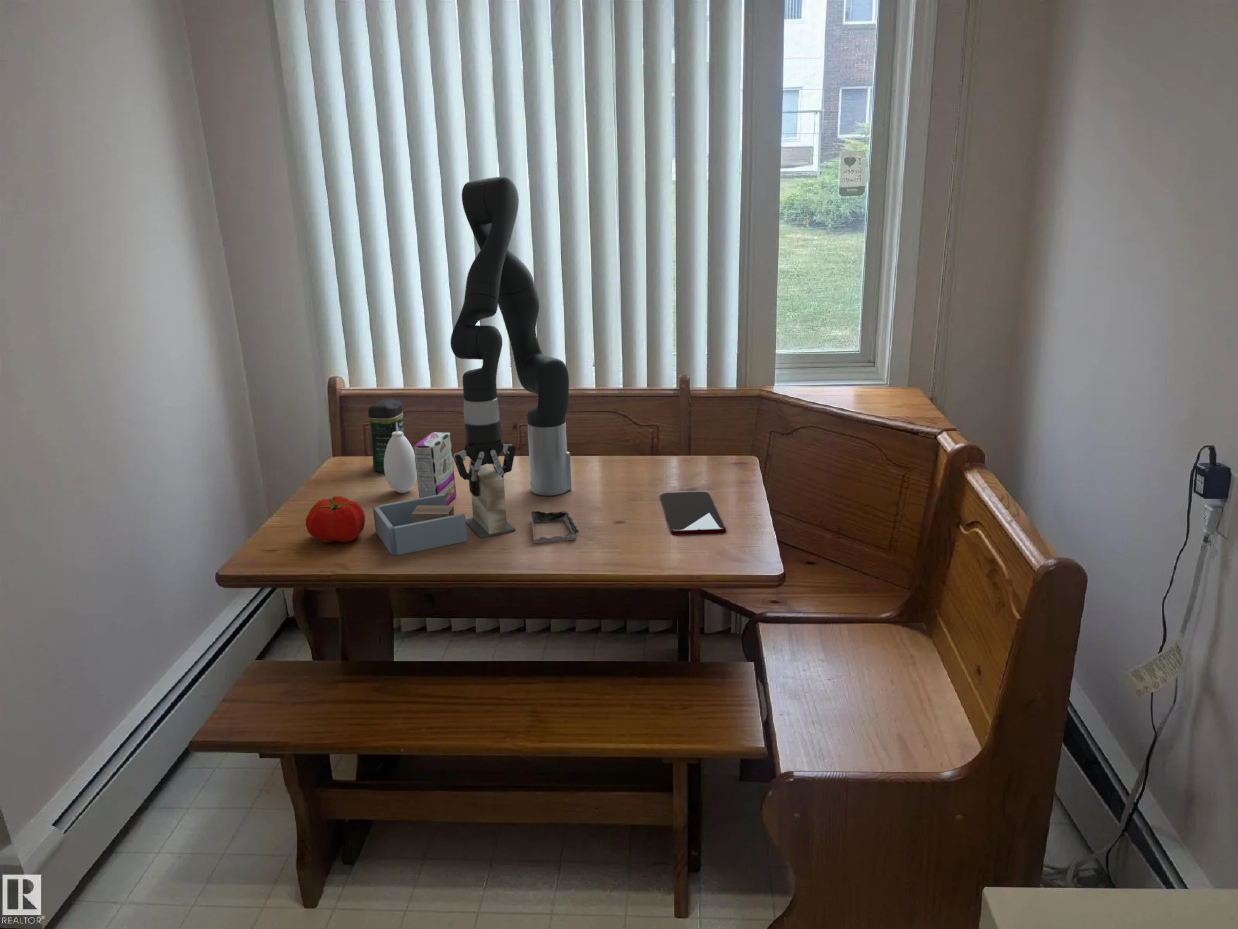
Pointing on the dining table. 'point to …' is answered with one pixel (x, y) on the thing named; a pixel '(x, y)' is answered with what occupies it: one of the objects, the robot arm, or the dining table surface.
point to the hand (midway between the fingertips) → (487, 493)
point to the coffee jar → (384, 427)
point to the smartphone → (691, 513)
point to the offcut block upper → (431, 512)
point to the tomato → (335, 520)
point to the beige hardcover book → (490, 501)
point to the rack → (417, 526)
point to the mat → (481, 531)
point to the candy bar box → (435, 466)
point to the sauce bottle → (400, 463)
